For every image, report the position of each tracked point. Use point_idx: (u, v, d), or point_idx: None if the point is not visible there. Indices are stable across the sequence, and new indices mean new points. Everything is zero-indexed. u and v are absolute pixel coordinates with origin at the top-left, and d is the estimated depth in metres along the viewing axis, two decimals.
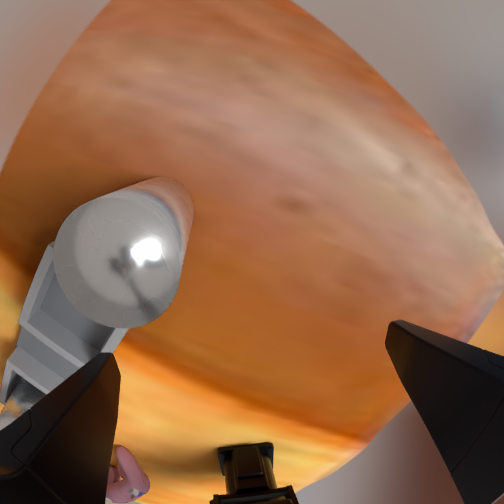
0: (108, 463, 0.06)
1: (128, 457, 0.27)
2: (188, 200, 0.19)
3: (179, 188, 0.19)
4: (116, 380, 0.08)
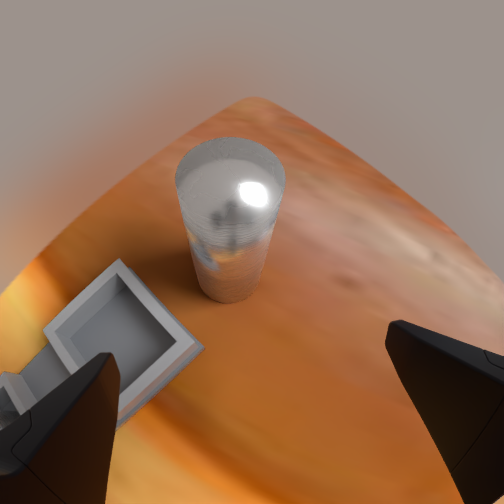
0: (108, 463, 0.06)
1: None
2: None
3: None
4: (116, 380, 0.08)
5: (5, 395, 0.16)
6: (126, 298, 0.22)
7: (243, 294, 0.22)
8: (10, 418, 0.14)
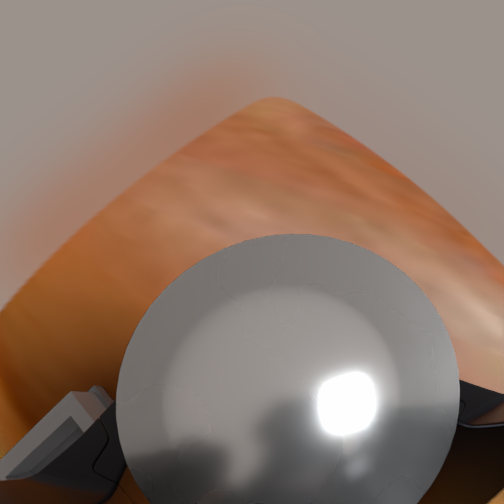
0: None
1: None
2: None
3: None
4: None
5: None
6: None
7: None
8: None
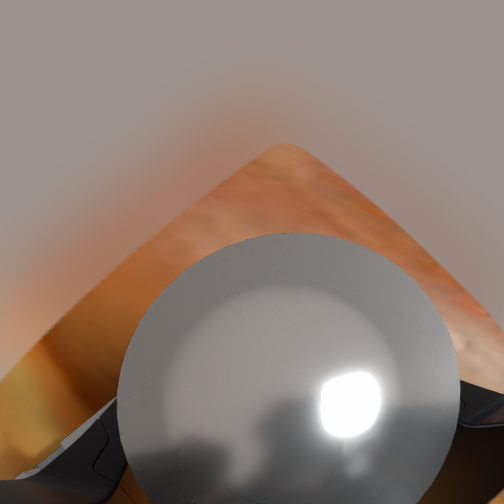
0: None
1: None
2: None
3: None
4: None
5: None
6: None
7: None
8: None
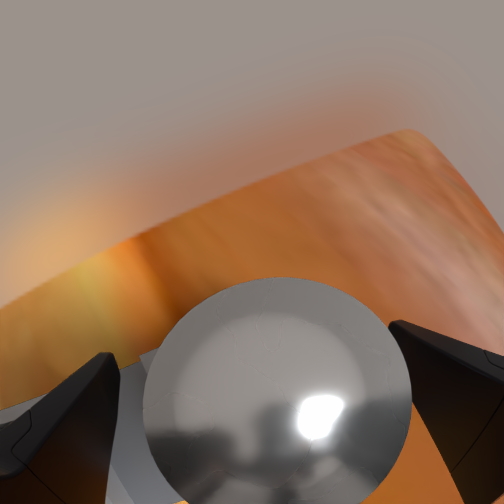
0: (108, 463, 0.06)
1: None
2: None
3: None
4: (116, 380, 0.08)
5: None
6: None
7: None
8: None
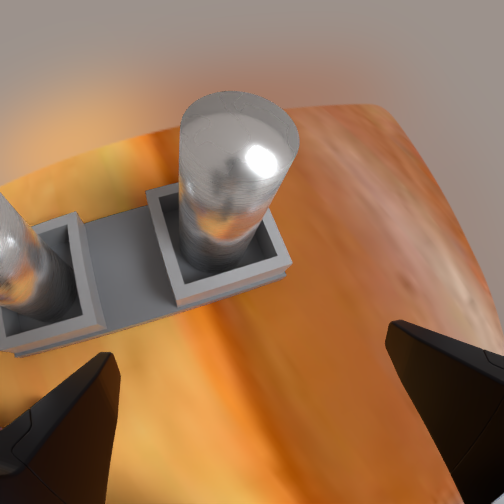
0: (108, 463, 0.06)
1: None
2: None
3: None
4: (116, 380, 0.08)
5: (57, 237, 0.19)
6: None
7: (225, 265, 0.21)
8: (58, 258, 0.17)
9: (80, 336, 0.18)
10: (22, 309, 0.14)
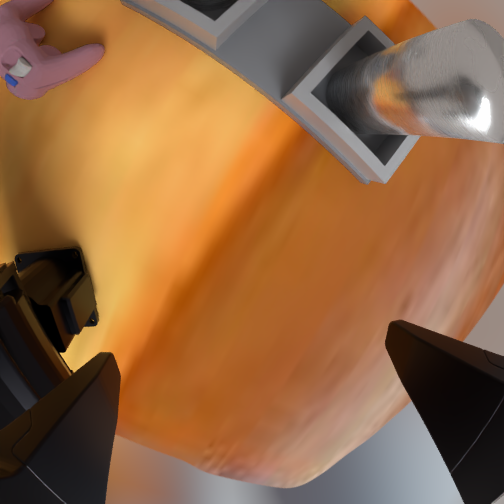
0: (108, 463, 0.06)
1: (88, 63, 0.14)
2: None
3: None
4: (116, 380, 0.08)
5: None
6: None
7: (348, 122, 0.17)
8: None
9: (189, 33, 0.15)
10: None
